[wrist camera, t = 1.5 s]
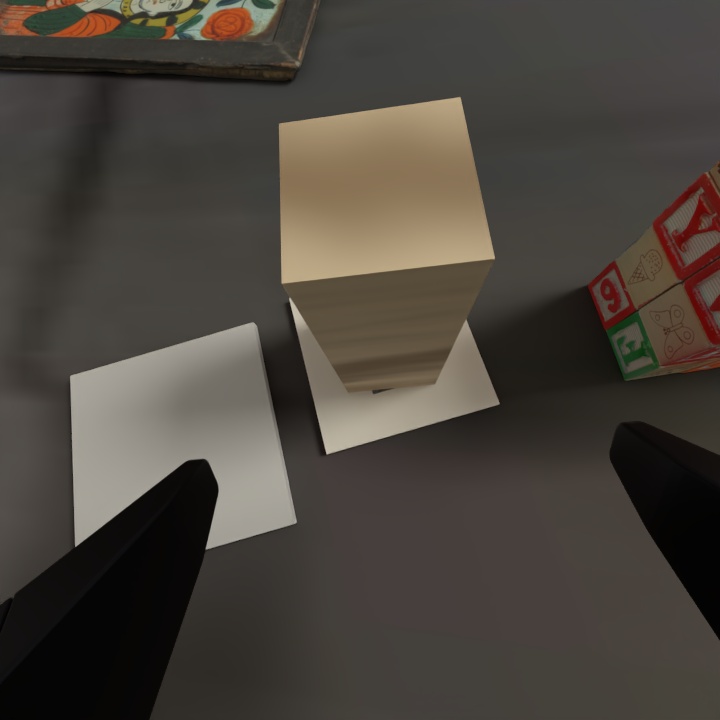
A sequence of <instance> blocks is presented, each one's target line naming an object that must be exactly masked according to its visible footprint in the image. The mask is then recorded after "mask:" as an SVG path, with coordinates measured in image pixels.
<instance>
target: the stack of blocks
mask: <svg viewBox="0 0 720 720" xmlns="http://www.w3.org/2000/svg"><path fill="white" fill-rule="evenodd" d="M588 288H589V290H590V293H591V296H592V298H593V301H594V304H595V306H596V309H597V311H598V314H599V316H600V319H601V322H602V324H603V327H604V329H605V330H606V332H607V335H608V337H609V340H610V343H611V345H612V348H613V351H614V353H615V356H616V359H617V361H618V364H619V367H620V369H621V372H622V375H623V377H624V380H626V381H628V380H634V379H641V378H647V377H653V376H659V375H665V374H672V373H678V372H680V373H687V372H693V371H699V370H705V369H711V368H717V367H720V161H719V162H718V163H717V164H716V165H715V166H714V167H713V169H712V170H711V171H709V172H706V173H704V174H703V175H701V176H700V177H699V178H698V179H697V180H696V181H695V182H694V183H693V184H692V185H691V186H690V187H688V188H687V189H686V190H685V191H684V192H683V193H682V194H681V195H680V196H679V197H678V198H677V199H676V200H675V201H674V202H673V203H672V204H671V205H670V206H669V207H668V208H666V209H665V210H664V212H663V213H662V214H661V215H660V216H659V217H658V218H656V220H655V221H654V222H653V225H651V226H650V227H649V228H648V229H647V230H646V231H645V232H644V233H643V234H642V235H641V236H640V237H639V238H638V239H637V240H636V241H635V242H634V243H633V244H632V245H631V246H629V247H628V248H627V249H626V250H625V251H624V252H623V253H622V254H621V255H620V256H619V257H618V258H617V259H615V260H614V261H613V262H612V263H610V264H609V265H608V266H607V267H606V268H605V269H604V270H603V271H602V272H601V273H600V274H599V275H598V276H597V277H596V278H595V279H594V280H593V281H592V282H591V283H589V285H588Z"/></svg>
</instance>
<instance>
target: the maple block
mask: <svg viewBox="0 0 720 720" xmlns="http://www.w3.org/2000/svg"><path fill="white" fill-rule="evenodd" d="M279 143H280V204H281V265H282V285H283V286H284V288H285V290H286V291H287V293H288V295H289V296H290V298H291V300H292V301H293V303H294V304H295V306H296V308H297V309H298V311H299V313H300V314H301V316H302V318H303V319H304V321H305V322H306V324H307V326H308V327H309V329H310V331H311V332H312V334H313V336H314V337H315V339H316V340H317V342H318V344H319V345H320V347H321V349H322V350H323V352H324V354H325V355H326V357H327V358H328V360H329V362H330V363H331V365H332V367H333V368H334V370H335V372H336V373H337V375H338V376H339V378H340V380H341V381H342V383H343V385H344V386H345V388H346V390H347V391H348V393H349V392H359V391H370V390H380V389H391V388H401V387H412V386H422V385H432V384H435V383H436V381H437V379H438V377H439V375H440V373H441V371H442V369H443V367H444V365H445V362H446V360H447V358H448V356H449V354H450V352H451V350H452V348H453V346H454V344H455V341H456V339H457V337H458V335H459V333H460V331H461V329H462V327H463V325H464V323H465V320H466V318H467V316H468V314H469V312H470V310H471V308H472V306H473V304H474V301H475V299H476V297H477V295H478V293H479V291H480V289H481V287H482V285H483V283H484V280H485V278H486V276H487V274H488V272H489V270H490V268H491V266H492V264H493V262H494V259H495V257H494V252H493V248H492V243H491V238H490V234H489V229H488V224H487V220H486V215H485V210H484V206H483V201H482V196H481V192H480V187H479V182H478V177H477V173H476V168H475V163H474V159H473V154H472V149H471V145H470V140H469V135H468V131H467V126H466V121H465V117H464V112H463V107H462V103H461V98H460V97H459V98H452V99H445V100H438V101H432V102H425V103H418V104H411V105H404V106H397V107H391V108H384V109H377V110H370V111H363V112H356V113H350V114H343V115H336V116H329V117H322V118H315V119H309V120H302V121H295V122H288V123H281V124H279Z"/></svg>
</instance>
